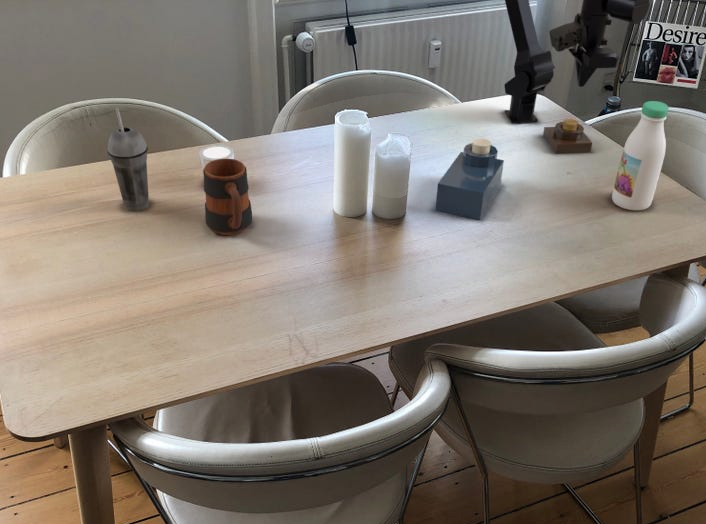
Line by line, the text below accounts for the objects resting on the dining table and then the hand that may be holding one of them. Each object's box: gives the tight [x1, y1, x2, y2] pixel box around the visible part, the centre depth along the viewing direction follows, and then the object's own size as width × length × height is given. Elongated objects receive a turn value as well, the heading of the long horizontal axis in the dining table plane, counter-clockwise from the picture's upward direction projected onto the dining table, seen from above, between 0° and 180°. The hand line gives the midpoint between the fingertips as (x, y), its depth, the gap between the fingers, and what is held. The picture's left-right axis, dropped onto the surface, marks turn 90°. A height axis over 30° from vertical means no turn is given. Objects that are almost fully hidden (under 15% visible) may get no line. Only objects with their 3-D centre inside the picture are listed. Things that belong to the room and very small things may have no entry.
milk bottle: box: [611, 100, 670, 211], centre depth 159 cm, size 8×8×20 cm
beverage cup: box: [107, 107, 150, 212], centre depth 154 cm, size 7×7×20 cm
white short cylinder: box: [471, 137, 492, 155], centre depth 164 cm, size 4×4×2 cm
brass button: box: [562, 118, 579, 131], centre depth 183 cm, size 3×3×2 cm
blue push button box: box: [434, 142, 505, 221], centre depth 163 cm, size 16×9×8 cm, turn 157°
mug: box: [202, 158, 253, 236], centre depth 151 cm, size 9×12×12 cm
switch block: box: [542, 121, 593, 155], centre depth 184 cm, size 9×8×4 cm
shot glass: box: [198, 144, 235, 170], centre depth 166 cm, size 7×7×7 cm
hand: (580, 86), depth 180 cm, fingers closed
